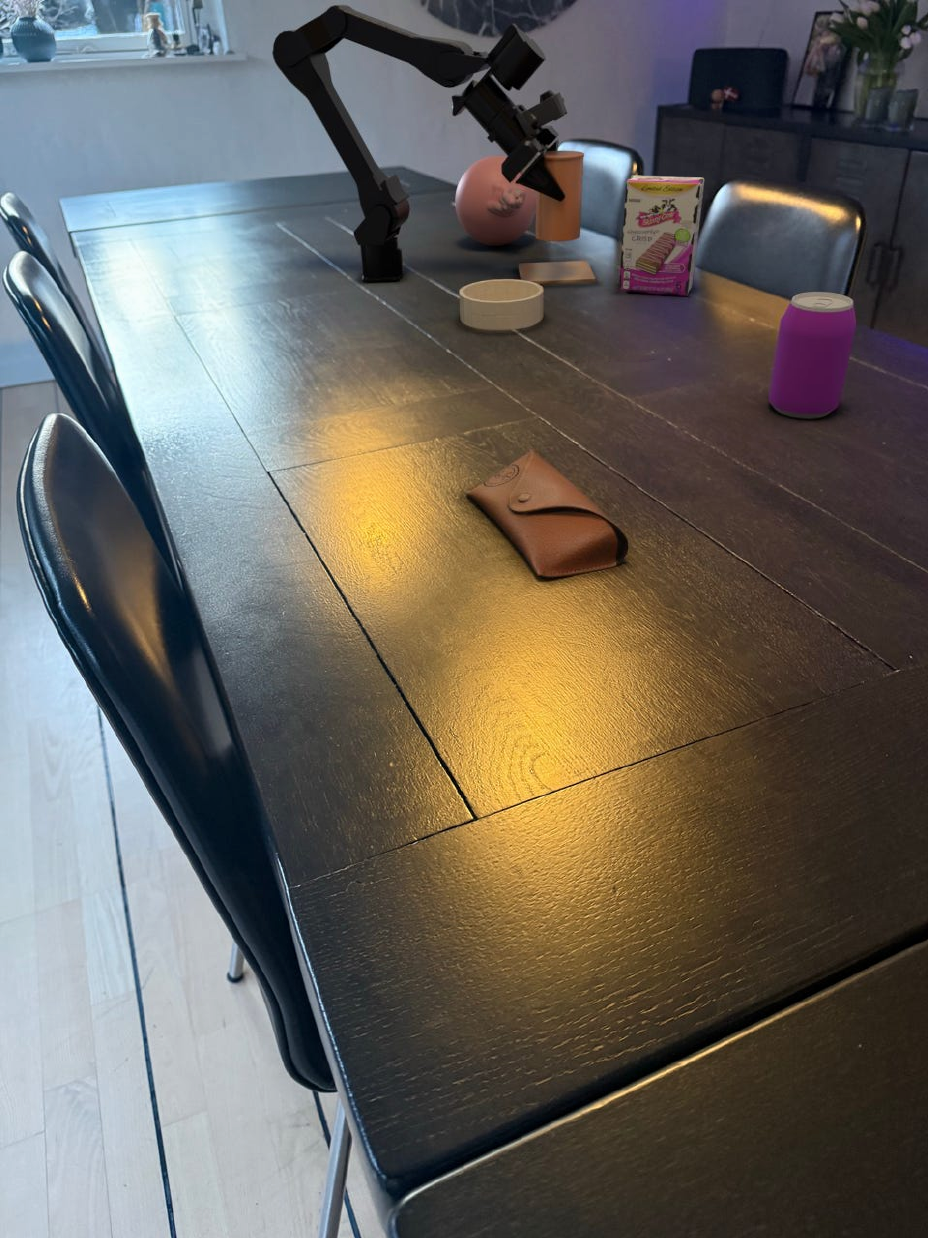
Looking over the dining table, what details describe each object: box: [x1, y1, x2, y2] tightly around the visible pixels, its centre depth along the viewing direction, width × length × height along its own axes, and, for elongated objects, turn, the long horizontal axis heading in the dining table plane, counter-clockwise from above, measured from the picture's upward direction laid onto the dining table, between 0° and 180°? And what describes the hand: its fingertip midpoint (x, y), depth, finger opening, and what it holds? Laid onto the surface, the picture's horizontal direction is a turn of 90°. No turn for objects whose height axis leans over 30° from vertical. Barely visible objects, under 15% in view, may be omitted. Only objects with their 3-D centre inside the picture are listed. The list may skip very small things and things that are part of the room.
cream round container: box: [459, 278, 545, 331], centre depth 132 cm, size 12×12×4 cm
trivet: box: [518, 260, 596, 285], centre depth 152 cm, size 12×12×1 cm
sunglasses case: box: [465, 447, 630, 579], centre depth 81 cm, size 18×7×7 cm, turn 22°
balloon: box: [454, 155, 536, 247], centre depth 167 cm, size 15×20×15 cm
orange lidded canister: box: [534, 150, 585, 243], centre depth 142 cm, size 7×7×12 cm
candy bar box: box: [618, 175, 705, 297], centre depth 138 cm, size 11×5×16 cm, turn 71°
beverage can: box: [768, 291, 857, 419], centre depth 98 cm, size 8×8×12 cm
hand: (567, 194), depth 141 cm, fingers closed on orange lidded canister, 7 cm apart
